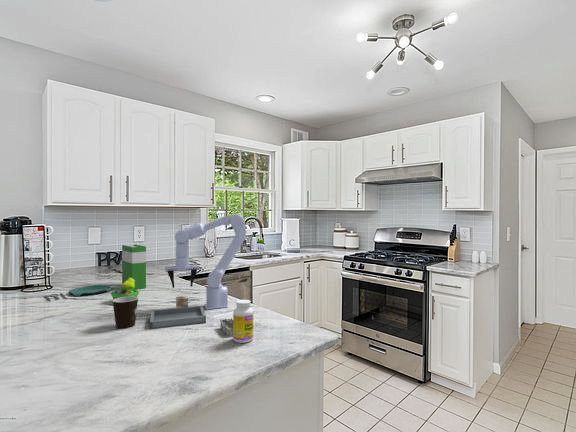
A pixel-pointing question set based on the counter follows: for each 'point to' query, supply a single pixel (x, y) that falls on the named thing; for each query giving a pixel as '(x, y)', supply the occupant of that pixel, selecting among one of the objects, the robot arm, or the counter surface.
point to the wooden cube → (181, 301)
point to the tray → (177, 317)
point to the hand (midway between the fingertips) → (182, 286)
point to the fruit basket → (126, 290)
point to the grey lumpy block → (227, 326)
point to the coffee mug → (125, 311)
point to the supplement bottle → (243, 322)
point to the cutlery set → (84, 291)
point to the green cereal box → (134, 265)
